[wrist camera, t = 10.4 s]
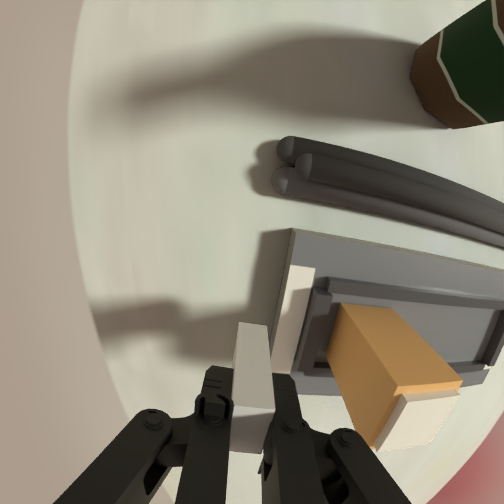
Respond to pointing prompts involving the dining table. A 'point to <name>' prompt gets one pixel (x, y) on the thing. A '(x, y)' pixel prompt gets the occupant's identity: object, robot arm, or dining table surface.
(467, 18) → the beer bottle
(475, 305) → the grey rectangular tray
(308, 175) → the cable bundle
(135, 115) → the dining table surface
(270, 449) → the robot arm
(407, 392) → the block
